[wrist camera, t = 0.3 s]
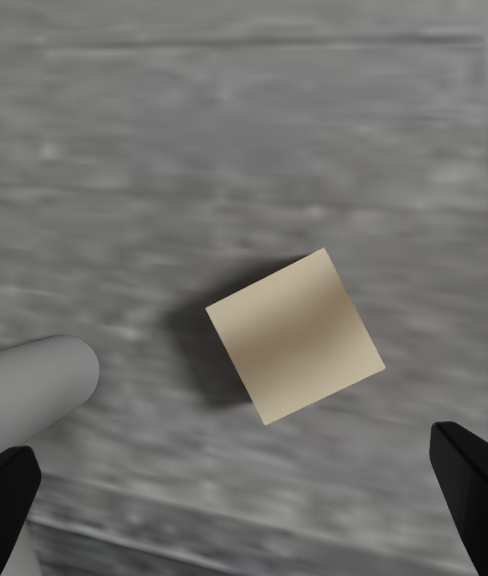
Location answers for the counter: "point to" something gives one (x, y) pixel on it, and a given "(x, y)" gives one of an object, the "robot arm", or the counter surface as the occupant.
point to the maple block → (295, 337)
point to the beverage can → (43, 385)
